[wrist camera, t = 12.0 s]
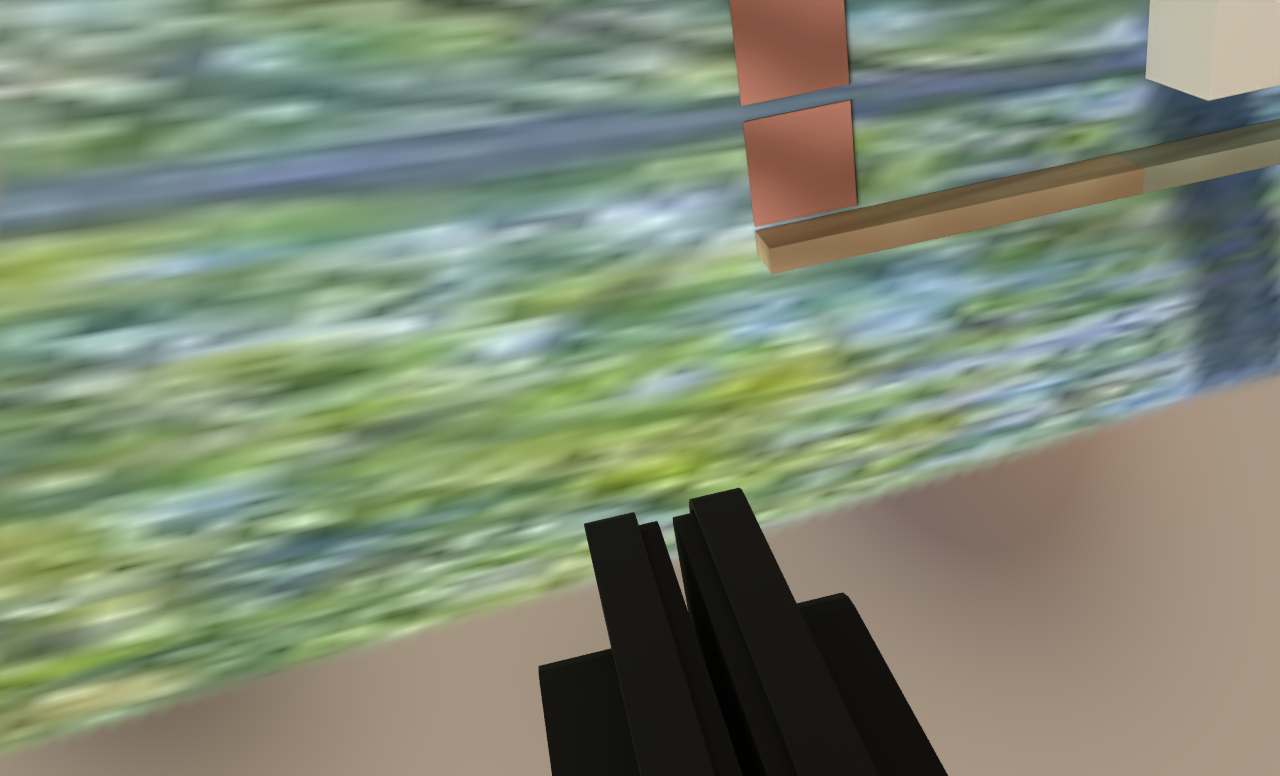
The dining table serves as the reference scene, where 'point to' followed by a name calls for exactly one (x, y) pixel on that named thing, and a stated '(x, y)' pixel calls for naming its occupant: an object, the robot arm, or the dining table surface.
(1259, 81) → the cream block
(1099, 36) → the dining table surface
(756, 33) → the finger lane
